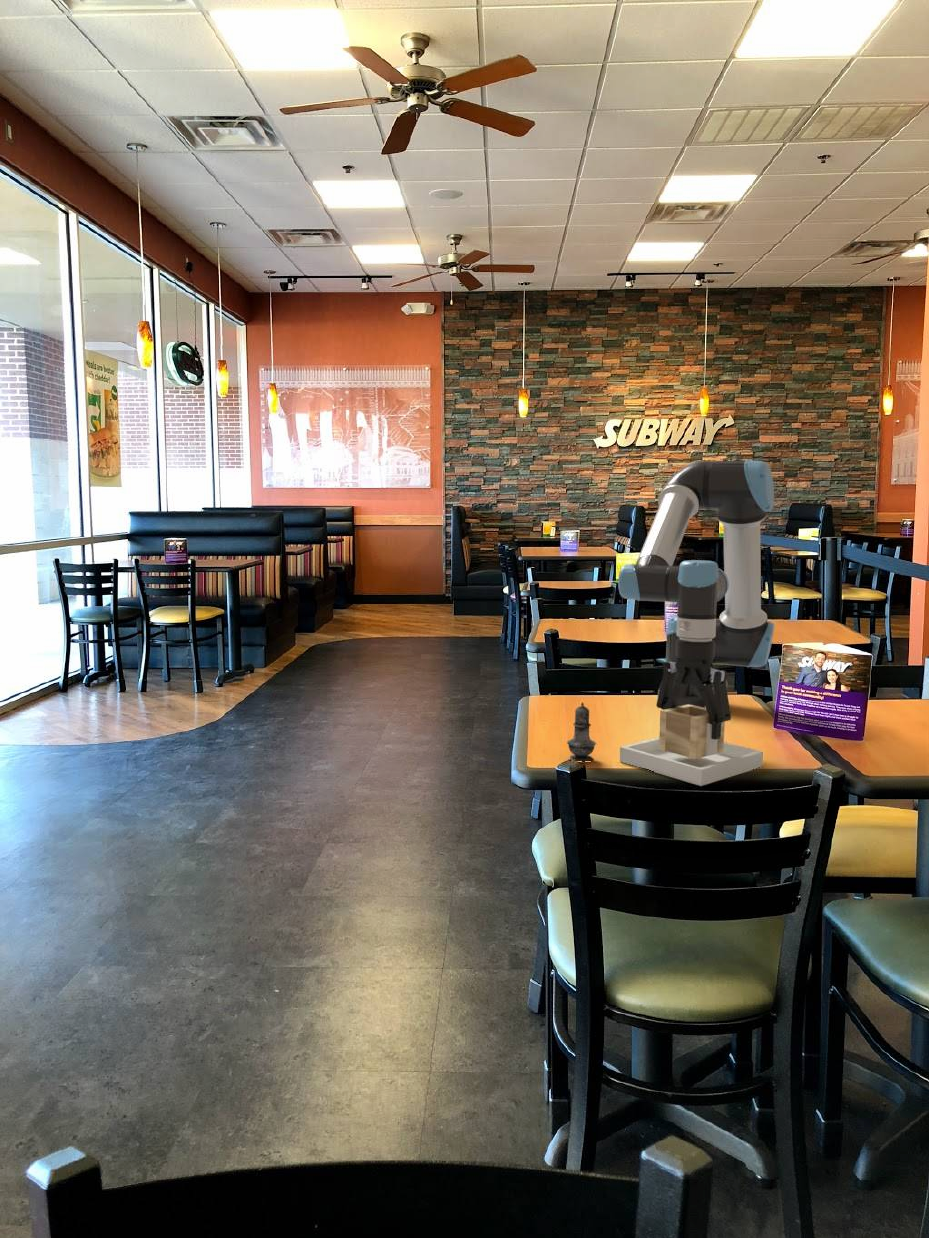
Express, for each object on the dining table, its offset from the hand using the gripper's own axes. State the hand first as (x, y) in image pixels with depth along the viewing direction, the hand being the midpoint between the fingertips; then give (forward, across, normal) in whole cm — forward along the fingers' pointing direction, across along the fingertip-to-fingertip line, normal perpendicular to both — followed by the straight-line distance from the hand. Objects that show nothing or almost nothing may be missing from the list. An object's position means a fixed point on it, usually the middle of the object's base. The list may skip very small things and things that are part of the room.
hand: (691, 749), depth 187 cm
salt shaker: (+3, -16, -15) cm, 22 cm away
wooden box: (0, 0, 0) cm, 0 cm away
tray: (+3, 0, 0) cm, 3 cm away
